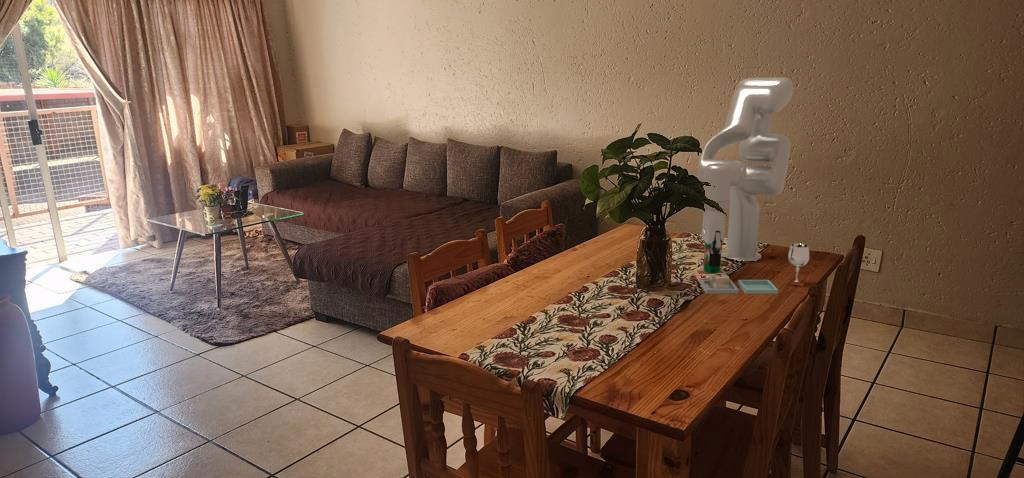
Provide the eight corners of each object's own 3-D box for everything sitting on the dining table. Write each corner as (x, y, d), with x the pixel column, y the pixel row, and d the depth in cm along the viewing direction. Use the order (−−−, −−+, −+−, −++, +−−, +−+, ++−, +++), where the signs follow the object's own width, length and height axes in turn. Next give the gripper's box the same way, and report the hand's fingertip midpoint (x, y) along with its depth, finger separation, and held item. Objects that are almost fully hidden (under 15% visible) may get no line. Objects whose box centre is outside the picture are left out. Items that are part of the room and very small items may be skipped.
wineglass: (803, 288, 193) (807, 249, 190) (783, 285, 197) (786, 246, 194) (808, 283, 198) (812, 244, 195) (788, 279, 201) (792, 241, 198)
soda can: (718, 269, 205) (720, 232, 202) (721, 274, 200) (724, 236, 197) (701, 269, 205) (703, 232, 202) (704, 274, 200) (706, 236, 197)
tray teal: (737, 285, 197) (737, 279, 197) (768, 285, 197) (768, 279, 196) (745, 295, 189) (745, 289, 188) (777, 295, 188) (778, 289, 188)
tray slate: (699, 285, 198) (700, 279, 198) (730, 285, 198) (730, 279, 197) (706, 295, 190) (706, 289, 189) (738, 295, 189) (738, 289, 188)
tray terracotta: (693, 275, 208) (694, 269, 207) (722, 275, 207) (723, 269, 207) (699, 284, 199) (699, 278, 199) (729, 284, 199) (730, 278, 198)
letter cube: (709, 287, 195) (709, 273, 194) (721, 285, 196) (722, 272, 195) (715, 291, 191) (716, 277, 190) (728, 290, 192) (729, 276, 191)
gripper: (697, 199, 206) (694, 255, 210) (708, 211, 189) (705, 271, 194) (721, 199, 205) (718, 255, 210) (735, 211, 189) (731, 271, 193)
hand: (712, 262), depth 202 cm, fingers closed on soda can, 5 cm apart
